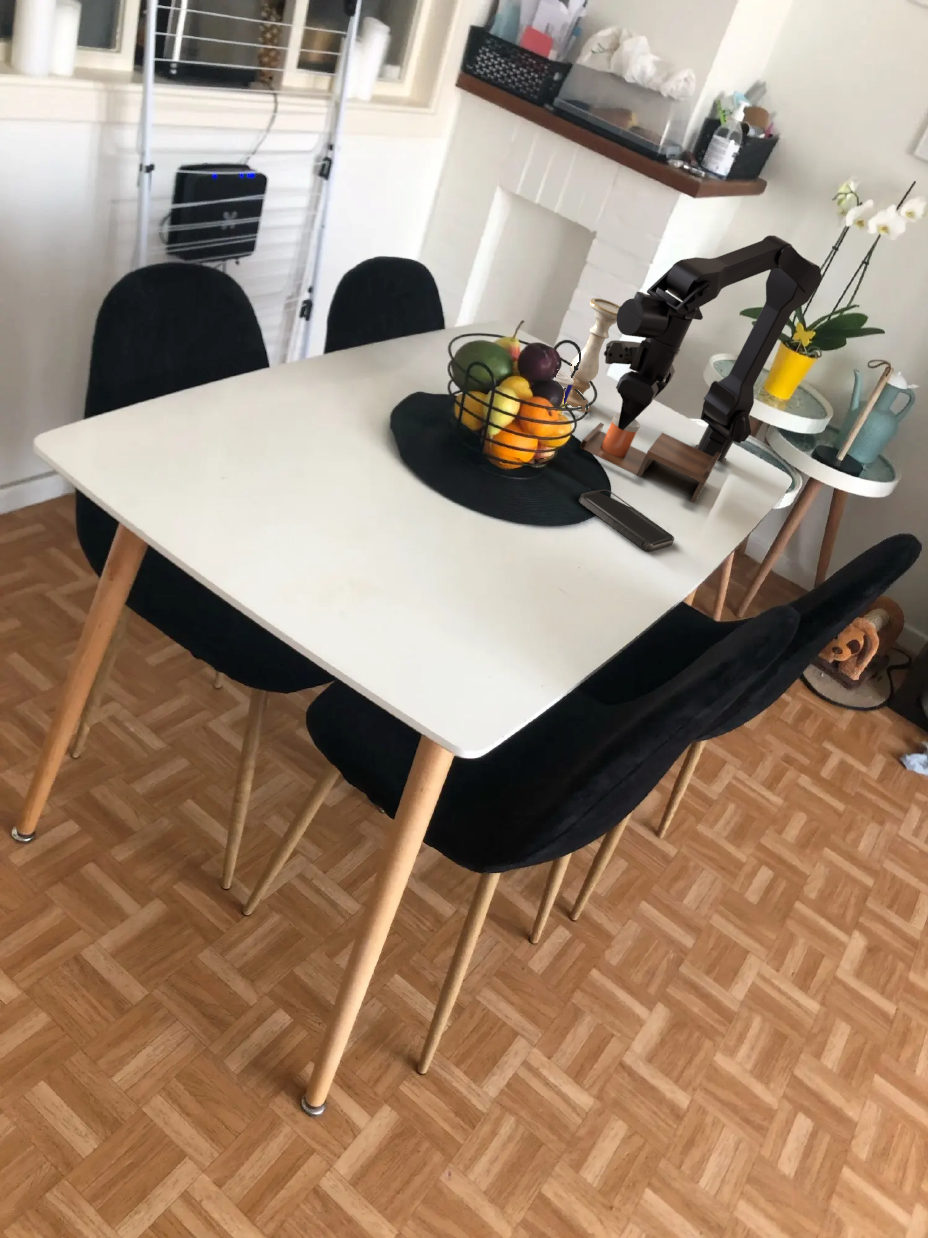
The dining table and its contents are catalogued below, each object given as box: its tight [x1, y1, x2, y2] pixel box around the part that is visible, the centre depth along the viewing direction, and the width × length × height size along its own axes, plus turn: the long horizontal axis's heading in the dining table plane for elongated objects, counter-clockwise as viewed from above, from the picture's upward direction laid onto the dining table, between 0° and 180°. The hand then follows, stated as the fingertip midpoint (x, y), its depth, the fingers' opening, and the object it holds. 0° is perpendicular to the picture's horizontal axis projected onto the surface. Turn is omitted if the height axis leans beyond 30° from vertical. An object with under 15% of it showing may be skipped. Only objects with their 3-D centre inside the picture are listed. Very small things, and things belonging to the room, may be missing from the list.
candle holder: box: [566, 297, 621, 413], centre depth 188 cm, size 9×9×20 cm
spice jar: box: [601, 412, 641, 457], centre depth 178 cm, size 5×5×6 cm
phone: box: [578, 488, 675, 552], centre depth 158 cm, size 8×1×15 cm
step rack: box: [579, 422, 721, 504], centre depth 177 cm, size 12×22×7 cm, turn 66°
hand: (626, 422), depth 177 cm, fingers open, 9 cm apart
